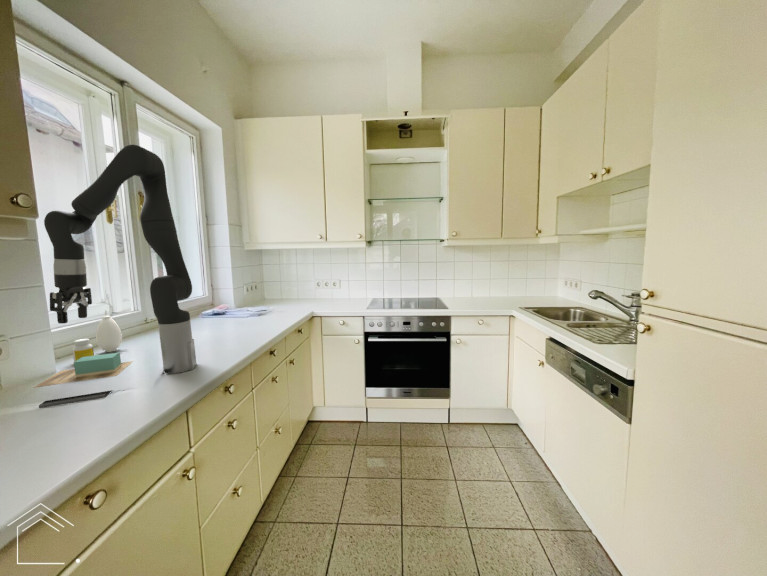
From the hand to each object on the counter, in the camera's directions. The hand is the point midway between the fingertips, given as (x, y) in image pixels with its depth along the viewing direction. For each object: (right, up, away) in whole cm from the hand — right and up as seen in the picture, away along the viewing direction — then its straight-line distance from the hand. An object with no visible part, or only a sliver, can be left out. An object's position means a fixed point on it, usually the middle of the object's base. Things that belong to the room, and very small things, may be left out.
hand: (73, 320), depth 102 cm
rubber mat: (+17, -20, -14) cm, 30 cm away
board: (+6, -19, -1) cm, 20 cm away
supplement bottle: (-6, -18, +10) cm, 21 cm away
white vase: (-10, -16, +25) cm, 32 cm away
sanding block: (+9, -17, 0) cm, 20 cm away
